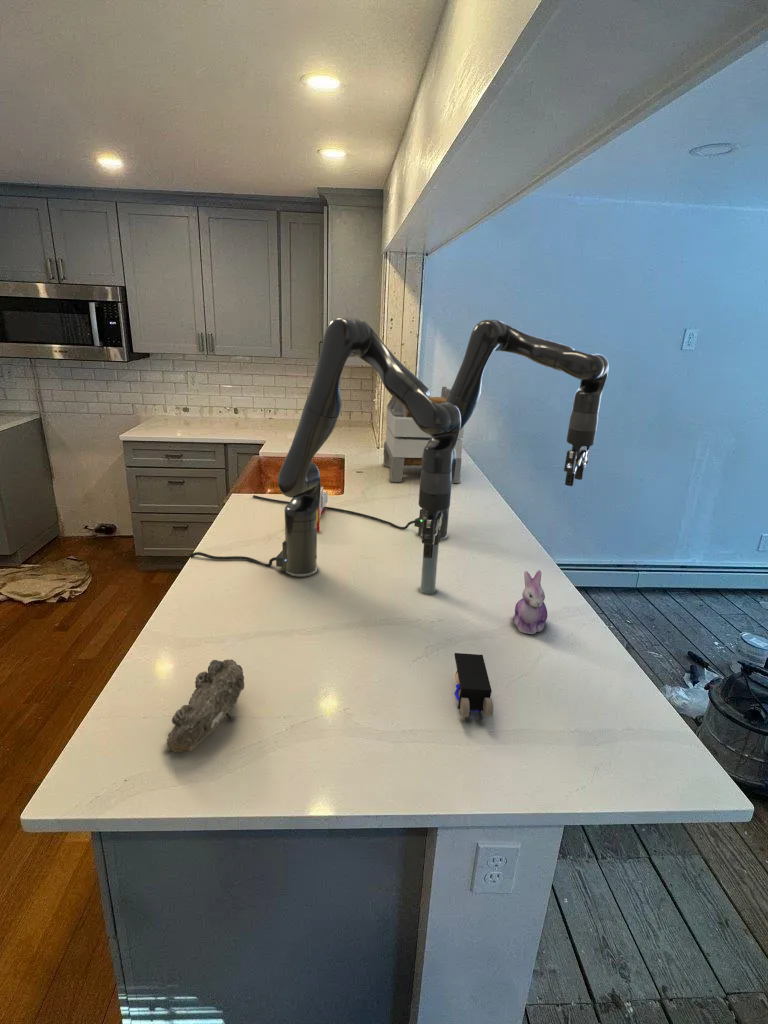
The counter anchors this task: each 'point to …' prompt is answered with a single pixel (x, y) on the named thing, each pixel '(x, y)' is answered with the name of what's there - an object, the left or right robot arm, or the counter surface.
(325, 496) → the toy
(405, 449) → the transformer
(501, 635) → the counter surface
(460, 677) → the black toy cart
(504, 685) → the counter surface
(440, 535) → the lid
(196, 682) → the fossil
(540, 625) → the figurine
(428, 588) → the grey cylinder
